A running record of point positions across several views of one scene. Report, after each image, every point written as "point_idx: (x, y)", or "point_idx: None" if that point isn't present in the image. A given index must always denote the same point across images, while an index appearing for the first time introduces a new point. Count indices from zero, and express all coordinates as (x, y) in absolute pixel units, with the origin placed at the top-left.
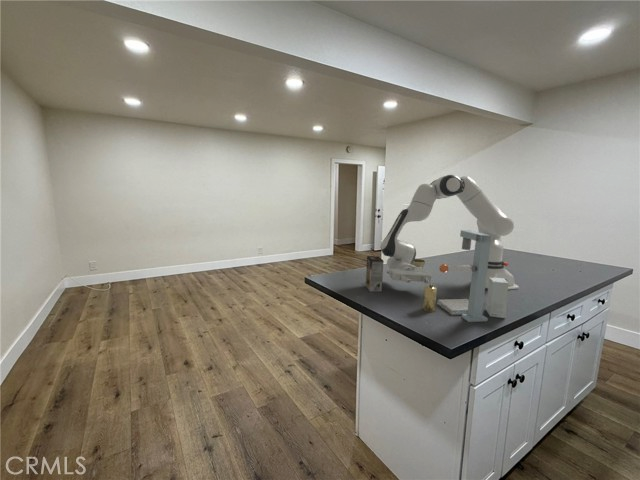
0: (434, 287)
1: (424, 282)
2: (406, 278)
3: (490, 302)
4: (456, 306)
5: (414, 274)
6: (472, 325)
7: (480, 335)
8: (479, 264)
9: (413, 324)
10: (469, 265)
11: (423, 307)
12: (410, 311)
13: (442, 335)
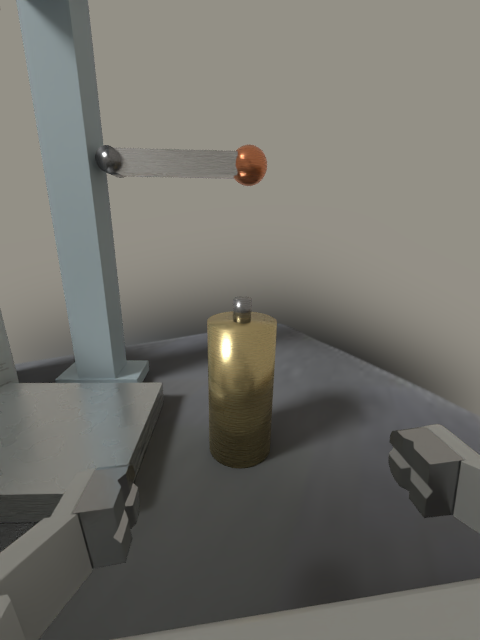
0: (220, 319)
1: (131, 535)
2: (459, 443)
3: (1, 336)
4: (100, 407)
5: (296, 616)
6: (157, 359)
7: (182, 337)
8: (100, 142)
9: (341, 367)
10: (121, 149)
11: (269, 441)
12: (346, 433)
13: None
